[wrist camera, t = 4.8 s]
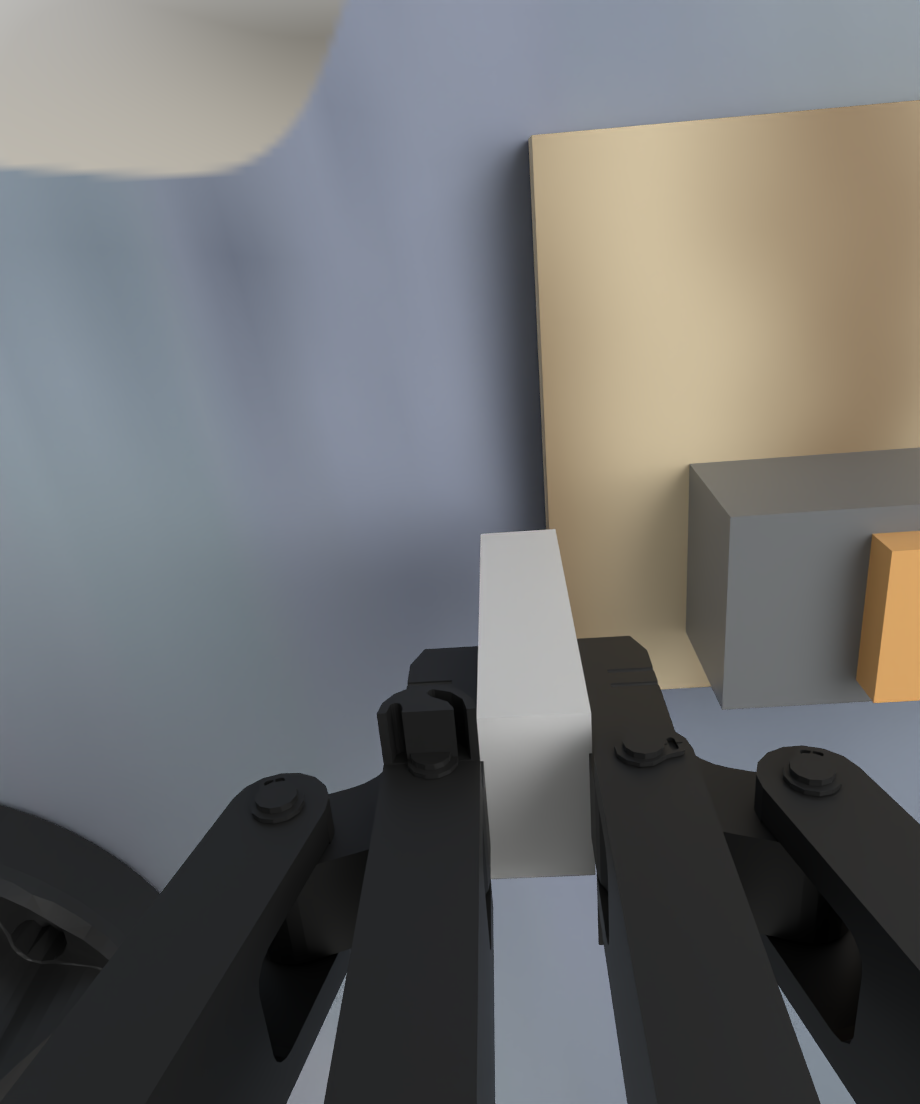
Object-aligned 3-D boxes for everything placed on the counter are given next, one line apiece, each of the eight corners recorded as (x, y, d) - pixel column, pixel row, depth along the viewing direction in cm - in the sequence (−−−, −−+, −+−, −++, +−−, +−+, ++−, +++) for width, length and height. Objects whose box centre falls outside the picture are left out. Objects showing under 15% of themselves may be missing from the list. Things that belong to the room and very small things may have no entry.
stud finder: (685, 631, 20) (733, 733, 16) (689, 463, 18) (743, 534, 14) (1046, 609, 19) (1180, 708, 16) (1082, 435, 18) (1240, 500, 14)
